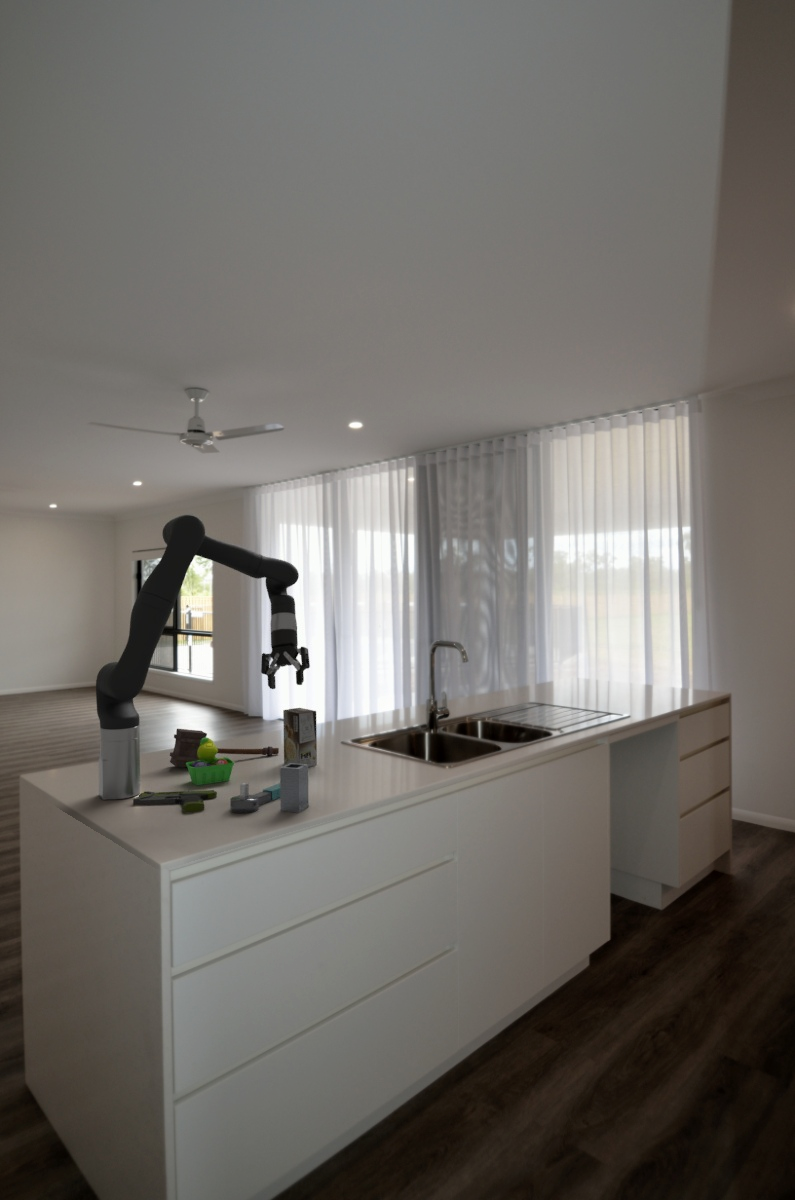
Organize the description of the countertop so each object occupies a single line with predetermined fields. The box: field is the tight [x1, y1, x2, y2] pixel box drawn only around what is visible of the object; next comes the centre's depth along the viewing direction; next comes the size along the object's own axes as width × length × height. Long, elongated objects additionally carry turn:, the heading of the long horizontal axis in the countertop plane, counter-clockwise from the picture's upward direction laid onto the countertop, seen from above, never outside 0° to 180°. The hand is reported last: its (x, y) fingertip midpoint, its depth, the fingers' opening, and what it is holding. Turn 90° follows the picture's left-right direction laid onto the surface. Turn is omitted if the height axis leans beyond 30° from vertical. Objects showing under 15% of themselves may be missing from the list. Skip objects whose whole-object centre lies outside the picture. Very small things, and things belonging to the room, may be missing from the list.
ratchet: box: [229, 782, 280, 815], centre depth 165 cm, size 19×6×6 cm, turn 152°
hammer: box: [169, 728, 280, 768], centre depth 208 cm, size 7×33×10 cm, turn 122°
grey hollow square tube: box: [279, 763, 309, 814], centre depth 160 cm, size 5×5×10 cm
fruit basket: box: [186, 737, 235, 786], centre depth 186 cm, size 11×9×11 cm
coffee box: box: [282, 707, 318, 768], centre depth 203 cm, size 9×6×16 cm
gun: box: [132, 789, 218, 814], centre depth 165 cm, size 2×19×15 cm
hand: (285, 686), depth 193 cm, fingers open, 8 cm apart
